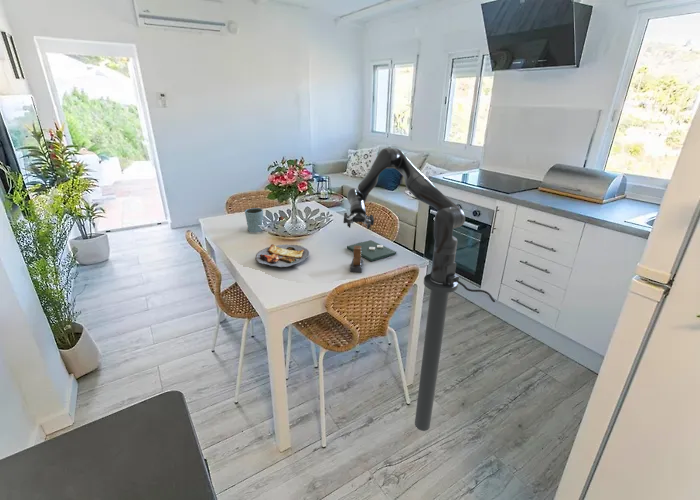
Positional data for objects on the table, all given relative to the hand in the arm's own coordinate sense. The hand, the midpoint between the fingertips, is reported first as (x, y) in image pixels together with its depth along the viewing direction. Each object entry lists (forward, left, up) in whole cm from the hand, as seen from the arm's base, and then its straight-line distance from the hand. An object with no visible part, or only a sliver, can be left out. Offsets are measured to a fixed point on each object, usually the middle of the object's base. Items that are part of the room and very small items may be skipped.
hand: (359, 226), depth 159 cm
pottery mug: (+62, +9, -17) cm, 65 cm away
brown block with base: (-7, +6, -17) cm, 19 cm away
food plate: (+21, +29, -17) cm, 40 cm away
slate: (+5, -12, -17) cm, 21 cm away
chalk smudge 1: (+5, -12, -16) cm, 21 cm away
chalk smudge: (+5, -18, -16) cm, 24 cm away
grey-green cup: (+67, +24, -17) cm, 73 cm away
